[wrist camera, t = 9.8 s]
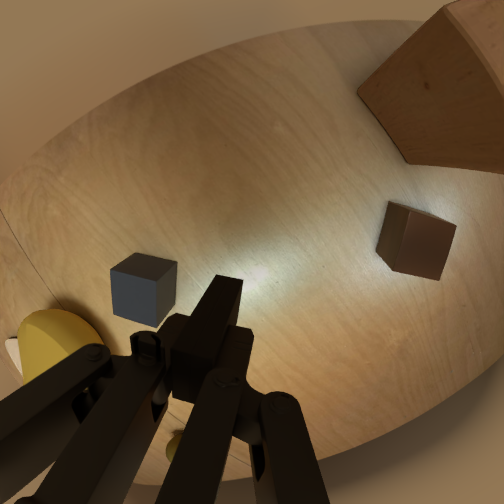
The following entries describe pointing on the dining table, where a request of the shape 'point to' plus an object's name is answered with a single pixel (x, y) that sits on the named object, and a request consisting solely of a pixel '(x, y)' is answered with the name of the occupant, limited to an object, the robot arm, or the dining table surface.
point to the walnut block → (415, 241)
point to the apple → (172, 447)
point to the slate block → (143, 288)
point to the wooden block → (446, 89)
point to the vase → (51, 340)
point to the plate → (14, 352)
